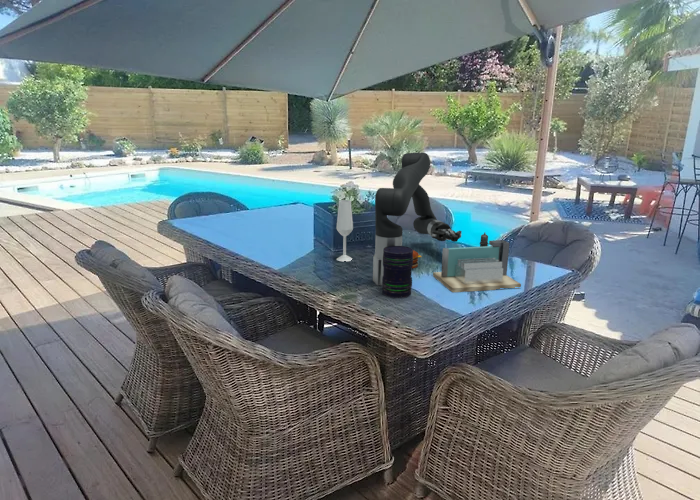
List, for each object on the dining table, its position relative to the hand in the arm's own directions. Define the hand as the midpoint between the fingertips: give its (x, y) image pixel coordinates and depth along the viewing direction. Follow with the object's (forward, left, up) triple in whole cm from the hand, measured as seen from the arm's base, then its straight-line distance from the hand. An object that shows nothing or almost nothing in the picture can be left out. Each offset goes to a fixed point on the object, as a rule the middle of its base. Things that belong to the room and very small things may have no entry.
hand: (455, 239), depth 196 cm
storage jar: (-31, -25, -11) cm, 41 cm away
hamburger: (-18, +5, -12) cm, 22 cm away
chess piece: (+15, +6, -11) cm, 20 cm away
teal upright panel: (-1, -15, -9) cm, 18 cm away
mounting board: (0, -19, -11) cm, 22 cm away
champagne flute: (-40, +18, -11) cm, 45 cm away
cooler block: (+3, -19, -10) cm, 21 cm away
